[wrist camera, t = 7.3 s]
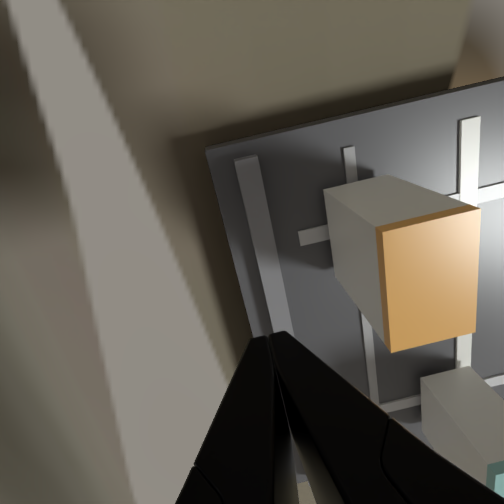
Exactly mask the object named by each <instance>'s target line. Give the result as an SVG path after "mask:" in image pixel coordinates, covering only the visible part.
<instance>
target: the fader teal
mask: <svg viewBox="0 0 504 504" xmlns="http://www.w3.org/2000/svg"><path fill="white" fill-rule="evenodd" d="M420 385H421V416H422V432H423V433H424V435H425V436H426V438H427V439H428V441H429V443H430V444H431V446H432V447H433V449H434V450H435V451H436V452H437V453H439V454H440V455H441V456H443V457H444V458H446V459H447V460H449V461H450V462H452V463H453V464H454V465H456V466H457V467H459V468H460V469H462V470H463V471H465V472H466V473H467V474H469V475H470V476H472V477H473V478H475V479H476V480H478V481H479V482H481V483H482V484H484V485H485V486H487V487H488V488H490V489H491V490H493V491H494V492H496V493H497V494H499V495H500V496H502V497H503V498H504V400H503V399H502V398H501V397H500V396H499V395H498V394H497V393H496V392H495V391H494V390H493V389H492V388H491V387H490V386H489V385H488V384H487V383H486V382H485V381H484V380H483V379H482V378H481V377H480V376H479V375H478V374H477V373H476V372H475V371H474V370H473V369H472V368H471V367H470V366H465V367H461V368H457V369H453V370H449V371H445V372H441V373H437V374H433V375H429V376H425V377H421V378H420Z"/></svg>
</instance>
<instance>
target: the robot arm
mask: <svg viewBox="0 0 504 504" xmlns="http://www.w3.org/2000/svg"><path fill="white" fill-rule="evenodd" d="M268 338H269V339H268ZM269 343H270V344H269ZM270 347H271V348H270ZM271 351H272V352H271ZM272 355H273V356H272ZM274 364H275V365H274ZM275 368H276V369H275ZM276 372H277V373H276ZM277 376H278V377H277ZM279 385H280V386H279ZM280 389H281V390H280ZM281 393H282V394H281ZM282 397H283V398H282ZM284 406H285V407H284ZM285 410H286V411H285ZM286 414H287V415H286ZM287 418H288V419H287ZM288 422H289V424H288ZM289 426H290V428H289ZM290 430H291V433H290ZM291 434H292V437H293V440H294V443H295V446H296V449H297V452H298V454H299V457H300V460H301V462H302V465H303V468H304V471H305V473H306V476H307V479H308V481H309V484H310V487H311V490H312V492H313V495H314V498H315V500H316V503H317V504H504V498H503V497H502V496H500V495H499V494H497V493H496V492H494V491H493V490H491V489H490V488H488V487H487V486H485V485H484V484H482V483H481V482H479V481H478V480H476V479H475V478H473V477H472V476H470V475H469V474H467V473H466V472H465V471H463V470H462V469H460V468H459V467H457V466H456V465H454V464H453V463H452V462H450V461H449V460H447V459H446V458H444V457H443V456H441V455H440V454H439V453H437V452H436V451H435V450H433V449H432V448H431V447H429V446H428V445H427V444H425V443H424V442H423V441H422V440H420V439H419V438H418V437H416V436H415V435H414V434H412V433H411V432H410V431H409V430H407V429H406V428H405V427H404V426H403V425H401V424H400V423H399V422H398V421H396V420H395V419H394V418H390V415H389V414H388V413H386V412H385V411H384V410H383V409H381V408H380V407H379V406H378V405H377V404H375V403H374V402H373V401H372V400H370V399H369V398H368V397H367V396H366V395H364V394H363V393H362V392H361V391H359V390H358V389H357V388H356V387H354V386H353V385H352V384H351V383H350V382H348V381H347V380H346V379H345V378H343V377H342V376H341V375H340V374H338V373H337V372H336V371H335V370H334V369H332V368H331V367H330V366H329V365H327V364H326V363H325V362H324V361H323V360H321V359H320V358H319V357H318V356H316V355H315V354H314V353H313V352H311V351H310V350H309V349H308V348H307V347H305V346H304V345H303V344H302V343H300V342H299V341H298V340H297V339H295V338H294V337H293V336H292V335H291V334H289V333H288V332H287V331H284V330H283V331H279V332H275V333H271V334H269V336H268V337H267V336H266V335H262V336H258V337H254V338H251V339H250V340H249V341H248V343H247V346H246V348H245V350H244V352H243V355H242V357H241V359H240V361H239V364H238V366H237V368H236V370H235V372H234V375H233V377H232V379H231V381H230V384H229V386H228V388H227V390H226V393H225V395H224V397H223V399H222V401H221V404H220V406H219V408H218V410H217V413H216V415H215V417H214V419H213V422H212V424H211V426H210V428H209V430H208V433H207V435H206V437H205V440H204V442H203V444H202V446H201V448H200V451H199V453H198V455H197V457H196V460H195V462H194V466H193V467H192V468H191V470H190V473H189V475H188V477H187V479H186V481H185V484H184V486H183V488H182V490H181V492H180V494H179V497H178V498H177V501H176V503H175V504H299V498H298V489H297V480H296V472H295V463H294V454H293V446H292V439H291Z"/></svg>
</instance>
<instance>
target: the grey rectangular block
mask: <svg viewBox="0 0 504 504" xmlns="http://www.w3.org/2000/svg"><path fill="white" fill-rule="evenodd" d="M323 192H324V199H325V206H326V214H327V221H328V228H329V236H330V243H331V250H332V258H333V265H334V272H335V277H336V278H337V280H338V281H339V282H340V284H341V285H342V287H343V288H344V289H345V291H346V292H347V293H348V295H349V296H350V297H351V299H352V300H353V302H354V303H355V304H356V306H357V307H358V308H359V310H360V311H361V312H362V314H363V315H364V317H365V318H366V319H367V321H368V322H369V323H370V325H371V326H372V327H373V329H374V330H375V332H376V333H377V334H378V336H379V337H380V338H381V340H382V341H383V343H384V344H385V345H386V347H387V348H388V349H389V351H390V352H391V353H393V352H397V351H401V350H405V349H409V348H414V347H418V346H422V345H426V344H430V343H434V342H438V341H442V340H446V339H450V338H454V337H458V336H462V335H466V334H471V333H475V332H476V311H477V288H478V266H479V244H480V221H481V208H478V207H476V206H473V205H470V204H467V203H465V202H462V201H459V200H457V199H454V198H451V197H448V196H446V195H443V194H440V193H437V192H435V191H432V190H429V189H427V188H424V187H421V186H418V185H416V184H413V183H410V182H408V181H405V180H402V179H399V178H397V177H394V176H391V175H388V174H386V175H382V176H378V177H374V178H369V179H365V180H361V181H357V182H353V183H348V184H344V185H340V186H336V187H332V188H327V189H323Z"/></svg>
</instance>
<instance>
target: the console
mask: <svg viewBox="0 0 504 504" xmlns="http://www.w3.org/2000/svg"><path fill="white" fill-rule="evenodd" d="M205 154H206V157H207V161H208V165H209V169H210V173H211V177H212V180H213V184H214V188H215V192H216V196H217V200H218V203H219V207H220V211H221V215H222V219H223V223H224V227H225V230H226V234H227V238H228V242H229V246H230V250H231V253H232V257H233V261H234V265H235V269H236V273H237V277H238V280H239V284H240V288H241V292H242V296H243V300H244V303H245V307H246V311H247V315H248V319H249V323H250V327H251V330H252V334H253V338H254V337H258V336H262V335H266V336H267V337H268V336H269V334H271V333H275V332H279V331H283V330H284V331H287V332H288V333H289V334H291V335H292V336H293V337H294V338H295V339H297V340H298V341H299V342H300V343H302V344H303V345H304V346H305V347H307V348H308V349H309V350H310V351H311V352H313V353H314V354H315V355H316V356H318V357H319V358H320V359H321V360H323V361H324V362H325V363H326V364H327V365H329V366H330V367H331V368H332V369H334V370H335V371H336V372H337V373H338V374H340V375H341V376H342V377H343V378H345V379H346V380H347V381H348V382H350V383H351V384H352V385H353V386H354V387H356V388H357V389H358V390H359V391H361V392H362V393H363V394H364V395H366V396H367V397H368V398H369V399H370V400H372V401H373V402H374V403H375V404H377V405H378V406H379V407H380V408H381V409H383V410H384V411H385V412H386V413H388V414H389V415H390V418H394V419H395V420H396V421H398V422H399V423H400V424H401V425H403V426H404V427H405V428H406V429H407V430H409V431H410V432H411V433H412V434H414V435H415V436H416V437H418V438H419V439H420V440H422V441H423V442H424V443H425V444H427V445H428V446H429V447H431V448H432V449H433V447H432V446H431V444H430V443H429V441H428V439H427V438H426V436H425V435H424V433H423V432H422V416H421V385H420V378H421V377H425V376H429V375H433V374H437V373H441V372H445V371H449V370H453V369H457V368H461V367H465V366H470V367H471V368H472V369H473V370H474V371H475V372H476V373H477V374H478V375H479V376H480V377H481V378H482V379H483V380H484V381H485V382H486V383H487V384H488V385H489V386H490V387H491V388H492V389H493V390H494V391H495V392H496V393H497V394H498V395H499V396H500V397H501V398H502V399H503V400H504V77H500V78H496V79H491V80H487V81H483V82H478V83H474V84H470V85H466V86H462V87H457V88H453V89H449V90H444V91H440V92H436V93H432V94H427V95H423V96H419V97H415V98H410V99H406V100H402V101H398V102H394V103H389V104H385V105H381V106H377V107H372V108H368V109H364V110H360V111H355V112H351V113H347V114H343V115H338V116H334V117H330V118H326V119H321V120H317V121H313V122H309V123H304V124H300V125H296V126H292V127H288V128H283V129H279V130H275V131H271V132H266V133H262V134H258V135H254V136H249V137H245V138H241V139H237V140H232V141H228V142H224V143H220V144H215V145H211V146H207V147H206V148H205ZM386 174H388V175H391V176H394V177H397V178H399V179H402V180H405V181H408V182H410V183H413V184H416V185H418V186H421V187H424V188H427V189H429V190H432V191H435V192H437V193H440V194H443V195H446V196H448V197H451V198H454V199H457V200H459V201H462V202H465V203H467V204H470V205H473V206H476V207H478V208H481V221H480V244H479V266H478V288H477V311H476V332H475V333H471V334H466V335H462V336H458V337H454V338H450V339H446V340H442V341H438V342H434V343H430V344H426V345H422V346H418V347H414V348H409V349H405V350H401V351H397V352H393V353H391V352H390V351H389V349H388V348H387V347H386V345H385V344H384V343H383V341H382V340H381V338H380V337H379V336H378V334H377V333H376V332H375V330H374V329H373V327H372V326H371V325H370V323H369V322H368V321H367V319H366V318H365V317H364V315H363V314H362V312H361V311H360V310H359V308H358V307H357V306H356V304H355V303H354V302H353V300H352V299H351V297H350V296H349V295H348V293H347V292H346V291H345V289H344V288H343V287H342V285H341V284H340V282H339V281H338V280H337V278H336V277H335V272H334V265H333V258H332V250H331V243H330V236H329V228H328V221H327V214H326V206H325V199H324V192H323V189H327V188H332V187H336V186H340V185H344V184H348V183H353V182H357V181H361V180H365V179H369V178H374V177H378V176H382V175H386ZM268 339H269V338H268ZM269 344H270V343H269ZM270 348H271V347H270ZM271 352H272V351H271ZM272 356H273V355H272ZM274 365H275V364H274ZM275 369H276V368H275ZM276 373H277V372H276ZM277 377H278V376H277ZM279 386H280V385H279ZM280 390H281V389H280ZM281 394H282V393H281ZM282 398H283V397H282ZM284 407H285V406H284ZM285 411H286V410H285ZM286 415H287V414H286ZM287 419H288V418H287ZM288 424H289V422H288ZM289 428H290V426H289ZM290 433H291V430H290ZM291 439H292V446H293V454H294V463H295V472H296V480H297V483H301V482H305V481H308V479H307V476H306V473H305V471H304V468H303V465H302V462H301V460H300V457H299V454H298V452H297V449H296V446H295V443H294V440H293V437H292V434H291ZM308 483H309V481H308ZM309 486H310V484H309Z"/></svg>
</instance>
